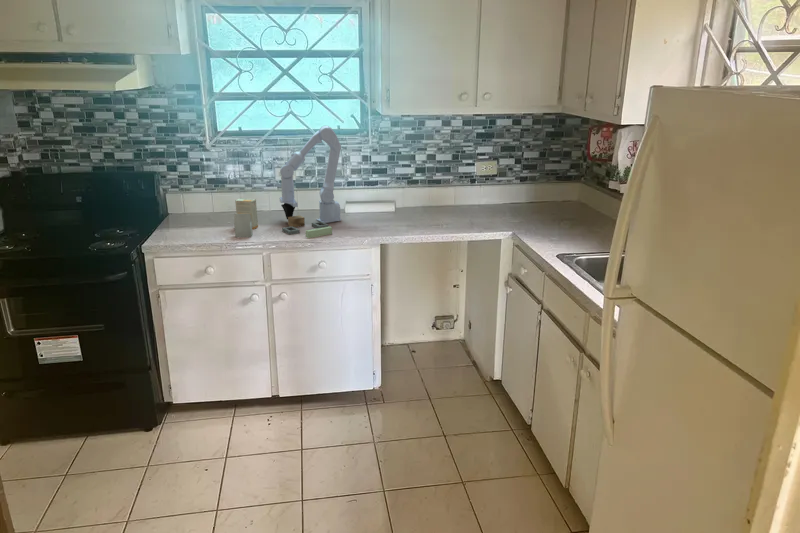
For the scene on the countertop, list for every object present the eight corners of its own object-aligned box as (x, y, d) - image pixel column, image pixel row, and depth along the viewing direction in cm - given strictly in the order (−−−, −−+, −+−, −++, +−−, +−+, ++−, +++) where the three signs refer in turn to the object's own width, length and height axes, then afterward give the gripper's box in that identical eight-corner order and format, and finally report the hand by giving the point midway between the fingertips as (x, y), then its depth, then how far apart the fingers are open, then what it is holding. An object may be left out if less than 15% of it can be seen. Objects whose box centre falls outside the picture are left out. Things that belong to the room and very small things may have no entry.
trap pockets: (321, 224, 281) (321, 218, 280) (339, 232, 269) (339, 225, 268) (282, 231, 270) (281, 224, 269) (299, 239, 257) (299, 233, 256)
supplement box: (258, 227, 276) (256, 199, 272) (253, 229, 272) (251, 201, 268) (242, 225, 278) (240, 197, 274) (237, 228, 274) (234, 199, 270)
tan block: (300, 223, 283) (299, 215, 282) (304, 226, 279) (304, 217, 278) (288, 225, 280) (287, 217, 279) (292, 227, 276) (292, 219, 275)
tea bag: (251, 237, 260) (249, 214, 257) (235, 237, 260) (233, 214, 257) (252, 234, 264) (251, 212, 261) (237, 235, 264) (235, 212, 260)
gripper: (273, 189, 283) (274, 217, 288) (287, 194, 272) (288, 223, 277) (286, 187, 287) (288, 215, 292) (301, 192, 276) (302, 221, 281)
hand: (289, 219), depth 285 cm, fingers closed
